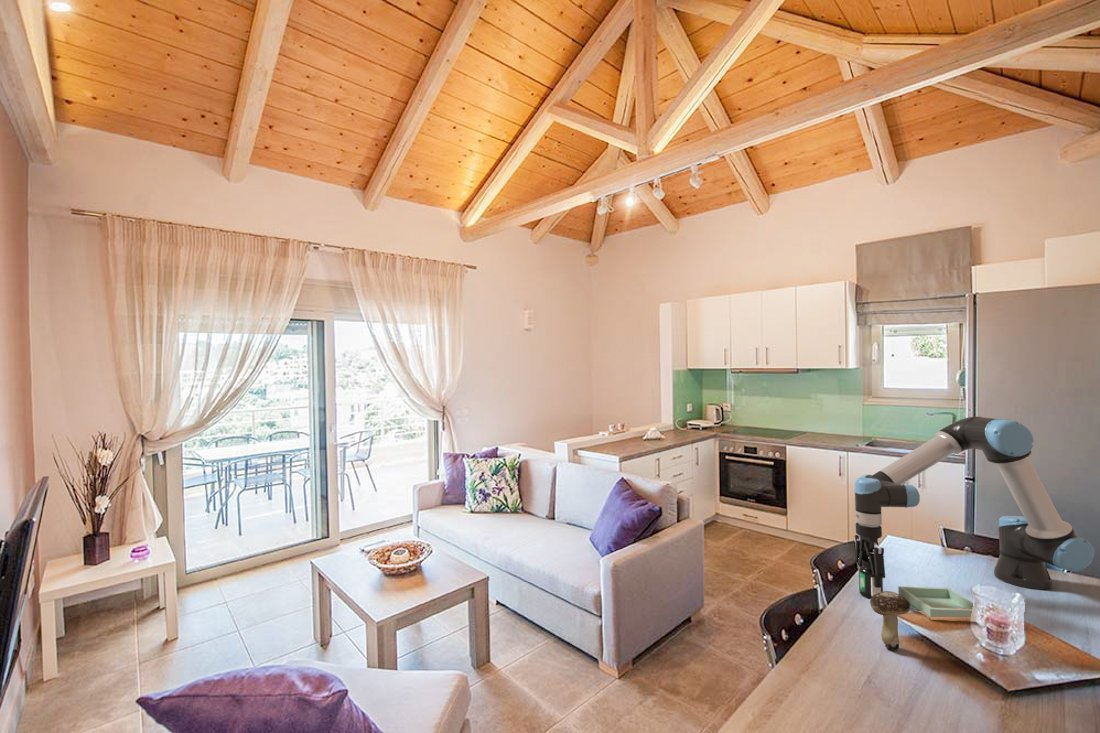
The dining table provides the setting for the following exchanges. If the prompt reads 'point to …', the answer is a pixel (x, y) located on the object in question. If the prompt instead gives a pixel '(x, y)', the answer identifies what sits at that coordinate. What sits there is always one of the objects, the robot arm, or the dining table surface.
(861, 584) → the supplement bottle
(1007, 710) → the dining table surface
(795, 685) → the dining table surface
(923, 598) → the bin
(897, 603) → the mushroom
